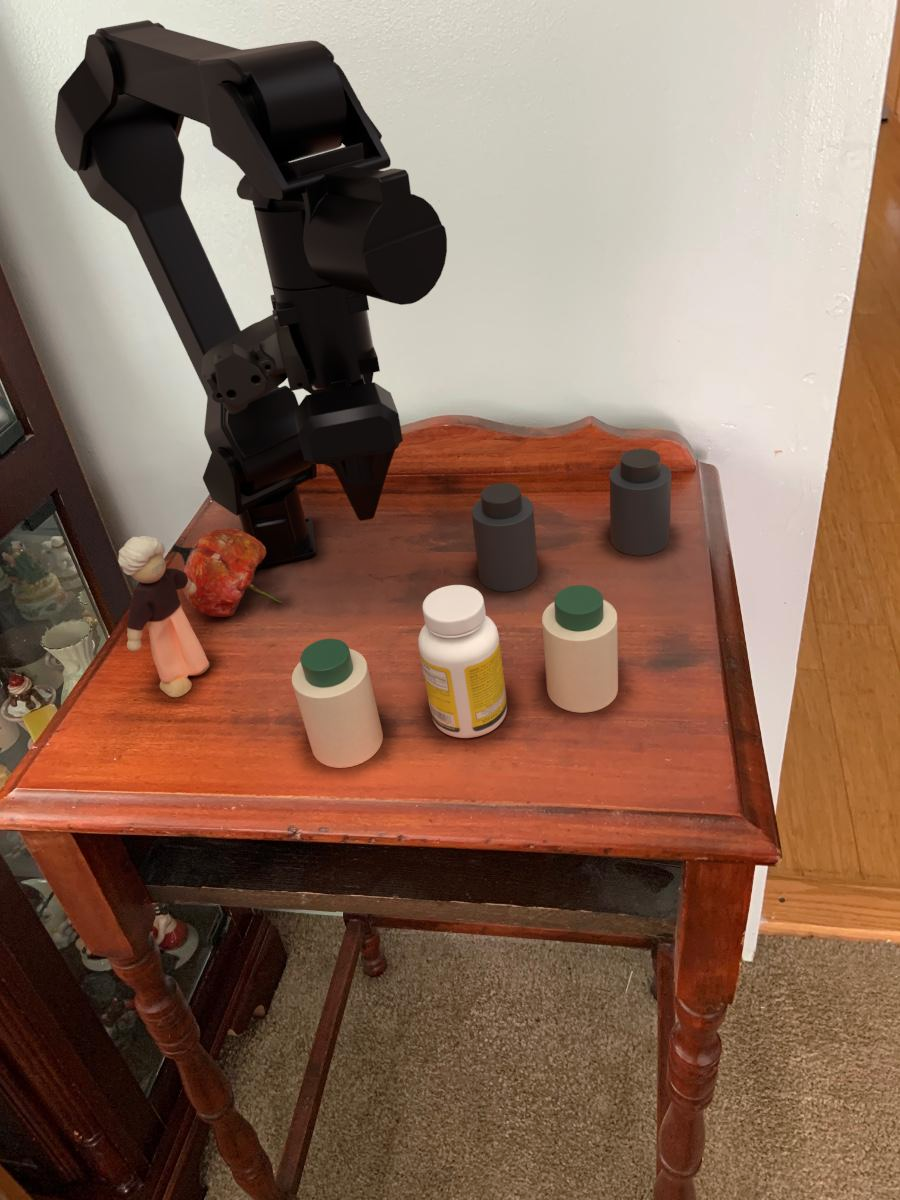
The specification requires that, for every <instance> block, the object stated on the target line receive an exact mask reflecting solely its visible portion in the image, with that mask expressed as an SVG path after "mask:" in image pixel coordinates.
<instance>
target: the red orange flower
mask: <svg viewBox="0 0 900 1200" xmlns="http://www.w3.org/2000/svg"><path fill="white" fill-rule="evenodd" d="M172 553H178V554H180V555H181V558H182V561H183V562H182V563H183V570H182V571H183V572H185V573H186V575H187V577H188V578H189V579H190V581H191V582H192V583H194V584H195V585H196V588H197V589H196V592H195V593H194V594H192V595H186V594H185V593H184V596H185V598H186V599H187V601H188V602H189V603H190V604H191V605H192V607H193V608H194V609H195V610H197V611H199V613H201V614H202V615H206V616H209V617H216V618H228V617H230V616H234V614H235V612H236V611H237V608H238V606H239V604H240V601H241V600H242V599H243V596H244V593H245V590H246V589H249V590H251V591H252V592H254V593H255V594H257V595H260V596H264V597H266V598H267V599H270V600H272V601H274V602H276V603H278V604H280V605H281V604H282V601H280V600H278V599H276V598H275V597H273V596H271V594H268V593H267V592H264V591H263V590H260V589H258V588H257V587H256V586H255V585H253V584H252V582H253V581H254V579H255V572H256V570H257V569H258V568H257V566H258V565H259V564H260V563H261V562H262V560H263V559H264V557H265V555H266V548H265V547H264V545H263V544H262V543H261V542H260V541H258V540H257V539H256V538H255V537H253V536H251V535H249V534H247V533H245V532H244V531H243V530H242V529H241V530H240V529H238V528H237V529H236V528H226V529H225V528H223V529H215V530H212V531H210V532H208V533H206V534H205V535H204V536H201V537H200V538H199V539H198V540H197V542H196V543H194V545H193V547H185V546H179V545H177V544H176V543H174V544H173V545H172V547H171V549H169V551H168V554H172ZM256 568H257V569H256Z"/></svg>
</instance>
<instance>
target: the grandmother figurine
mask: <svg viewBox="0 0 900 1200" xmlns="http://www.w3.org/2000/svg"><path fill="white" fill-rule="evenodd" d="M165 547H166V546H164V543H163V542H162V541H161V540H160V539H158V538H156V537H153V536H147V535H141V536H132V537H131V538H130V539H128V540H127V541H126V542H125V543H124V546H122V547H121V548H120V549H119V550H118V558H117V559H118V561H117V562H118V564H119V566H120V567H121V569H122V571H123V573H125V574H126V575H127V576H131V577H132V578H133V580H135V581H137V582H138V583H137V585H136V586H135V587H134V588H133V591H132V596H131V600H130V605H129V611H128V616H127V621H126V628H127V629H126V631H127V632H126V634H127V635H126V637H127V639H128V640H127V642H126V648H127V650H128V651H129V652H132V653H135V652H138V651H140V650H141V649H142V640H141V639H142V638H143V632H144V631H143V630H144V628H145V626H146V627H147V629H148V637H149V644H150V652H151V656H152V660H153V663H154V665H155V668H156V671H157V674H158V678H159V680H160V683H159V689H160V690H161V691H162V692H163V693H164V694H166V695H167V696H169V697H170V698H179V697H183V696H184V695H186V694H187V693H188V692H189V691H190V690H191V689H192V686H193V683H192V681H191V680H190V679H189V678H188V677H190V676H191V677H197V676H200V675H202V674H204V673H206V672H207V670H208V669H209V668H210V661H209V660H208V657H207V656H206V653H205V651H204V649H203V647H202V645H201V642H200V640H199V639H198V637H197V635H196V633H195V631H194V629H193V628H192V625H191V623H190V621H189V619H188V618H187V615H186V614H185V612H184V610H183V606H182V602H181V600H180V597H179V592H178V590H181V591H182V592H183V593H184V595H185V594H186V595H192V594H194V593H195V592H196V589H197V588H196V585H195V584H194V583H192V582H191V581H190V579H189V578H188V577H187V575H186V573H185V572H183V571H184V570H181V569H179V568H174V567H168V568H167V565H166V559H165V558H164V553H165V552H166V548H165Z"/></svg>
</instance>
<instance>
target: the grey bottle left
mask: <svg viewBox="0 0 900 1200" xmlns="http://www.w3.org/2000/svg"><path fill="white" fill-rule="evenodd" d="M471 520H472V528H473V536H474V545H475V554H476V559H477V560H476V561H477V569H478V578H479V581H480V583H481V584H482V585H483V586H484V587H486V588H487V589H489V590H491V591H495V592H501V593H502V592H503V593H509V592H515V591H521V590H523V589H526V588H527V587H529V586H530V585H532V584H533V583H534V582H536V580H537V579H538V576H539V564H538V563H539V562H538V551H537V549H538V548H537V537H536V535H537V534H536V522H535V509H534V504H533V502H532V501H531V500H530V498H528V497H526V496H524V495H523V494H522V491H521V488H520V487H519V486H518V485H516V484H514V483H509V482H499V483H493V484H490V485H488V486H486V487H485V488H484V489H482V490H481V493H480V500H478V501H477V502H475V504H474V505H473V506H472V508H471Z"/></svg>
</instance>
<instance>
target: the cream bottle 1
mask: <svg viewBox="0 0 900 1200" xmlns="http://www.w3.org/2000/svg"><path fill="white" fill-rule="evenodd" d="M299 661H300V662H298V663H297V665H295V667H294V669H293V670H292V674H291V684H292V688H293V691H294V694H295V697H296V701H297V704H298V708H299V711H300V715H301V718H302V723H303V725H304V728H305V731H306V734H307V739H308V742H309V745H310V748H311V752H312V754H313V756H314V758H315V759H316V761H318V762H319V763H321V764H322V765H324V766H327V767H329V768H333V769H334V768H335V769H346V768H352V767H356V766H359V765H361V764H363V763H365V762H367V761H369V760H371V758H372V757H373V756H375V755H376V753H377V752H378V751H379V750H380V748H381V745H382V743H383V740H384V733H383V728H382V725H381V719H380V716H379V715H380V714H379V711H378V707H377V701H376V698H375V693H374V689H373V685H372V680H371V676H370V671H369V667H368V662H367V660H366V658H365V656H364V655H362V654H361V653H360V652H358V651H357V650H355V649H352V648H350V647H349V645H348V644H347V643H346V642H345V641H343V640H342V639H338V638H323V639H320V640H319V639H318V640H317V641H314V642H312V643H310V644H309V645H308V646H306V647H305V648H304V649H303V650H302V652H301V654H300V658H299Z"/></svg>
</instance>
